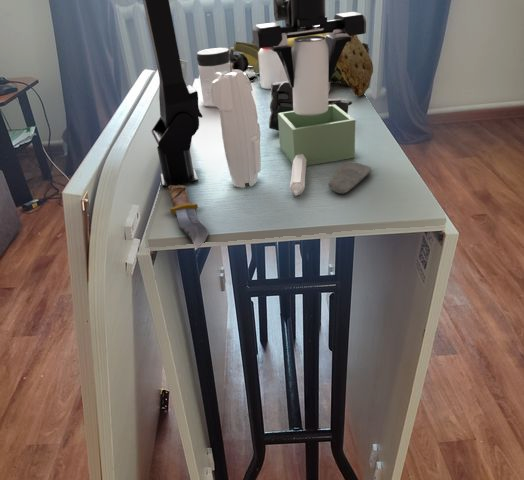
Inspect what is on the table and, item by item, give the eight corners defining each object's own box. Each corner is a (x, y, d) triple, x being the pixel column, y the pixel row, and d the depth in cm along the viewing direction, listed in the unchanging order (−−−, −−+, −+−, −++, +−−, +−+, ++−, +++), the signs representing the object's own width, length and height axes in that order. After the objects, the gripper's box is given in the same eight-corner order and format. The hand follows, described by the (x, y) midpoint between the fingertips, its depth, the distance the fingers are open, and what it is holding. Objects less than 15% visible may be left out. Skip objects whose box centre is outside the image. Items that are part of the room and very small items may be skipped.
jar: (196, 106, 139) (188, 54, 131) (213, 97, 144) (207, 47, 137) (225, 108, 135) (218, 54, 127) (242, 99, 140) (236, 47, 133)
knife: (211, 243, 76) (176, 249, 75) (212, 252, 77) (178, 258, 76) (193, 178, 94) (165, 183, 94) (195, 186, 95) (167, 191, 95)
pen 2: (347, 102, 129) (347, 100, 128) (270, 107, 133) (269, 104, 132) (347, 99, 130) (347, 96, 128) (270, 103, 133) (269, 101, 132)
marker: (295, 205, 87) (298, 168, 99) (306, 199, 86) (308, 162, 98) (286, 193, 86) (290, 156, 98) (297, 186, 85) (300, 150, 97)
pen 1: (215, 86, 150) (216, 91, 151) (218, 86, 149) (219, 91, 149) (255, 74, 156) (256, 79, 156) (258, 74, 154) (259, 78, 155)
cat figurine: (263, 132, 125) (338, 137, 127) (269, 130, 112) (352, 136, 114) (265, 85, 122) (342, 91, 124) (272, 78, 109) (358, 85, 111)
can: (326, 116, 96) (326, 40, 89) (290, 117, 97) (288, 42, 90) (330, 107, 101) (330, 34, 94) (296, 108, 102) (294, 36, 95)
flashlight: (228, 193, 92) (269, 185, 93) (212, 80, 81) (259, 72, 82) (220, 180, 97) (259, 172, 98) (204, 72, 86) (248, 64, 87)
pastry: (372, 102, 139) (382, 98, 137) (335, 92, 126) (346, 87, 124) (362, 33, 137) (372, 28, 135) (324, 15, 124) (335, 9, 122)
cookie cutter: (229, 45, 157) (230, 38, 156) (264, 43, 162) (265, 36, 161) (258, 77, 149) (259, 70, 148) (294, 74, 154) (295, 67, 153)
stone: (348, 157, 95) (375, 164, 93) (347, 165, 96) (373, 172, 95) (323, 182, 87) (352, 190, 86) (322, 190, 88) (350, 199, 87)
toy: (211, 87, 156) (233, 71, 165) (233, 89, 154) (254, 73, 163) (208, 59, 151) (231, 44, 160) (231, 61, 148) (253, 46, 158)
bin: (354, 157, 100) (355, 119, 96) (294, 167, 99) (292, 129, 94) (335, 139, 109) (335, 104, 105) (280, 148, 108) (277, 113, 103)
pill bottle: (256, 85, 151) (252, 41, 144) (280, 80, 153) (277, 36, 146) (267, 90, 145) (264, 44, 138) (293, 85, 147) (290, 39, 140)
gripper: (345, -30, 94) (344, 68, 104) (242, -17, 92) (251, 82, 102) (368, -26, 85) (365, 80, 95) (255, -12, 83) (263, 96, 93)
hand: (310, 84), depth 96 cm, fingers closed on can, 6 cm apart
